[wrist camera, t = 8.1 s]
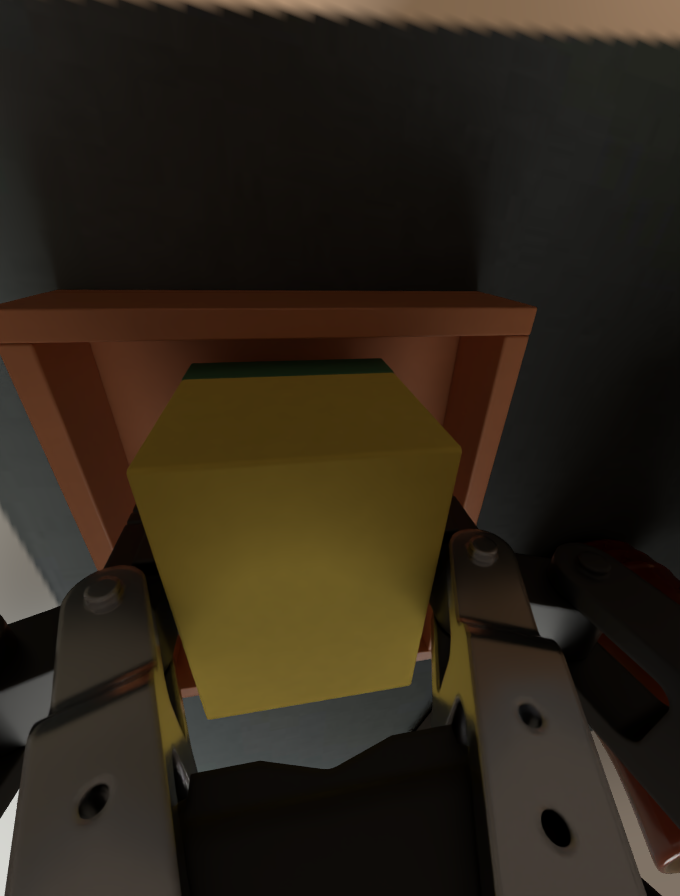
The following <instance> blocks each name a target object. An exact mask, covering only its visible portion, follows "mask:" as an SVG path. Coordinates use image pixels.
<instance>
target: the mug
mask: <svg viewBox="0 0 680 896" xmlns="http://www.w3.org/2000/svg"><path fill="white" fill-rule="evenodd" d="M578 543H581V544H586V545H590V546H593V547H595V548H598V549H600V550H602V551H604V552H606V553H608V554H609V555H611V556H612V557H614V558H615V559H616V560H618V561H619V562H621V563H622V564H623V565H625V566H626V567H628V568H629V569H630V570H632V571H633V572H635V573H636V574H637V575H639V576H640V577H642V578H643V579H644V580H646V581H647V582H648V583H650V584H651V585H653V586H654V587H655V588H657V589H658V590H660V591H661V592H662V593H664V594H665V595H667V596H668V597H669V598H671V599H672V600H674V601H675V602H676V603H678V604H679V605H680V580H678V579H677V578H676V577H675V576H674V575H673V574H672V572H671V571H670V570H669V569H667V568H666V567H665V566H663V565H661V564H659V563H657V562H655V561H654V560H653V559H652V558H651V557H649V556H648V555H647V554H645V553H643V552H641V551H639V550H637V549H635V548H634V547H632V546H631V545H629V544H628V543H625V542H623V541H619V540H614V539H597V540H587V541H582V542H578ZM553 555H554V553H553V554H552V555H550V556H549V557H547V558H551V559H552V557H553ZM597 642H598V643H599V644H600V645H601V646H602V647H603V648H604V649H605V650H607V651H608V652H609V653H610V654H611V655H612V656H613V657H614V658H615V659H616V660H617V661H618V662H619V663H620V664H621V665H622V666H624V667H625V668H626V669H627V670H628V671H629V672H630V673H631V674H632V675H633V676H634V677H635V678H636V679H637V680H638V681H640V682H641V683H642V684H643V685H644V686H645V687H646V688H647V689H648V690H649V691H650V692H651V693H652V694H653V695H654V696H655V697H657V698H658V699H659V700H660V701H661V702H663V703H664V704H665V705H667V706H669V701H668V698H667V695H666V694H665V692H664V690H663V689H662V688H661V686H660V685H659V684H658V683H657V682H656V681H655V680H654V679H653V678H652V677H651V676H650V675H649V674H648V673H647V672H645V671H644V670H643V669H642V668H641V667H640V666H639V665H638V664H637V663H636V662H634V661H633V660H632V659H631V658H630V657H629V656H628V655H627V654H626V653H625V652H623V651H622V650H621V649H620V648H619V647H618V646H617V645H616V644H615V643H614V642H612V641H611V640H610V639H609V638H608V637H607V636H606V635H605V634H604V633H602V635H601V636H600V638H599V639H598V641H597ZM593 731H594V730H593ZM594 732H595V731H594ZM595 734H596V732H595ZM596 735H597V734H596ZM597 737H598V738H599V740H600V741H601V743H602V745H603V747H604V748H605V750H606V752H607V753H608V755H609V757H610V759H611V761H612V763H613V765H614V767H615V769H616V771H617V773H618V775H619V777H620V780H621V782H622V784H623V786H624V789H625V791H626V793H627V796H628V798H629V800H630V803H631V805H632V808H633V810H634V813H635V815H636V818H637V820H638V823H639V826H640V828H641V831H642V833H643V836H644V839H645V841H646V844H647V846H648V849H649V852H650V854H651V857H652V859H653V861H654V864H655V866H656V867H657V869H658V870H659V871H660V872H662V873H666V874H672V873H680V829H679V828H678V827H677V826H676V825H675V824H674V822H673V821H672V820H671V819H670V818H669V817H668V815H667V814H666V813H665V812H664V811H663V810H662V809H661V807H660V806H659V805H658V804H657V803H656V802H655V800H654V799H653V798H652V797H651V796H650V795H649V794H648V792H647V791H646V790H645V789H644V788H643V787H642V785H641V784H640V783H639V782H638V781H637V780H636V779H635V777H634V776H633V775H632V774H631V773H630V772H629V770H628V769H627V768H626V767H625V766H624V765H623V764H622V762H621V761H620V760H619V759H618V758H617V757H616V755H615V754H614V753H613V752H612V751H611V750H610V749H609V747H608V746H607V745H606V744H605V743H604V742H603V740H602V739H601V738H600V737H599V736H598V735H597Z"/></svg>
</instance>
